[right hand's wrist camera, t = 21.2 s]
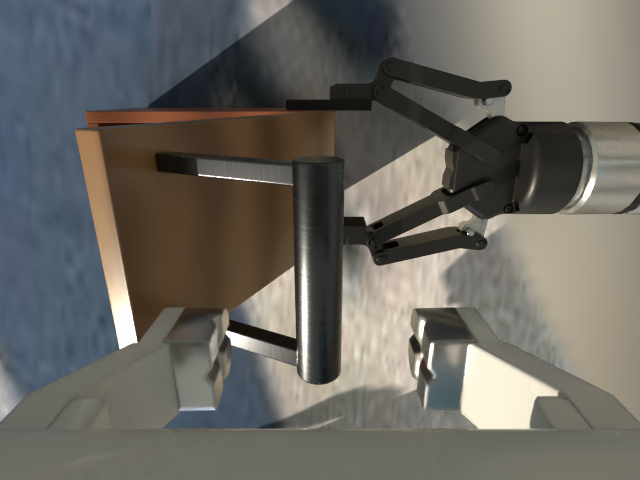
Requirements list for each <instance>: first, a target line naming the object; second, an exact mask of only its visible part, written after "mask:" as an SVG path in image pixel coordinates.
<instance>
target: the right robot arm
mask: <svg viewBox="0 0 640 480" xmlns="http://www.w3.org/2000/svg"><path fill="white" fill-rule="evenodd" d="M228 326H229V316H228V311H227V309H226V308H186V307H171V308H164V309H163V311H162V312H161V313H160V315H159V316H158V317H157V319H156V320H155V322H154V323H153V324H152V326H151V327H150V328H149V330H148V331H147V332H146V334H145V335H144V336H143V338H142V339H141V340H140V342H139V343H131V344H129V345H127V346H125V347H123V348H121V349H119V350H117V351H115V352H113V353H111V354H109V355H107V356H105V357H103V358H101V359H99V360H97V361H95V362H93V363H91V364H88V365H86V366H84V367H82V368H80V369H78V370H76V371H74V372H72V373H70V374H68V375H66V376H64V377H62V378H60V379H58V380H56V381H54V382H52V383H50V384H48V385H46V386H44V387H42V388H40V389H38V390H36V391H34V392H32V393H30V394H28V395H27V396H26V397H25V398H24V399H23V400H22V401H21V402H20V403H19V404H18V405H17V406H16V407H15V408H14V409H13V410H12V411H11V412H10V413H9V414H8V415H7V416H6V417H5V418H4V419H3V420H2V421H1V422H0V480H640V422H639V421H638V420H637V419H636V418H635V417H634V416H633V415H632V414H631V413H630V412H629V411H628V410H627V409H626V408H625V407H624V406H623V405H622V404H621V403H620V402H619V401H618V400H617V399H616V397H615V396H614V395H612V394H610V393H608V392H606V391H604V390H602V389H600V388H598V387H596V386H594V385H592V384H590V383H588V382H586V381H584V380H582V379H580V378H578V377H576V376H574V375H572V374H570V373H568V372H566V371H563V370H561V369H559V368H557V367H555V366H553V365H551V364H549V363H547V362H545V361H543V360H541V359H539V358H537V357H535V356H533V355H531V354H529V353H527V352H525V351H523V350H521V349H519V348H517V347H515V346H513V345H511V344H509V343H501V342H500V340H499V339H498V338H497V336H496V335H495V334H494V332H493V331H492V330H491V328H490V327H489V326H488V324H487V323H486V322H485V320H484V319H483V318H482V316H481V315H480V314H479V312H478V311H477V310H476V309H475V308H473V307H462V308H416V309H413V311H412V315H411V326H412V329H413V332H414V334H413V335H412V337H411V338H410V339H409V350H408V351H409V364H410V370H411V373H412V376H413V377H414V378H415V379H417V380H418V383H417V391H418V394H419V397H420V400H421V403H422V406H423V409H424V410H452V411H461V413H462V414H463V415H464V416H465V417H466V418H467V419H469V420H470V421H471V422H472V423H473V424H474V425H475V426H476V427H477V428H478V429H162V428H163V427H164V426H165V425H166V424H167V423H168V422H169V421H171V420H172V419H173V418H174V417H175V416H176V415H177V414H178V413H179V411H187V410H216V409H217V406H218V403H219V400H220V397H221V394H222V391H223V383H222V380H223V379H225V378H226V377H227V376H228V373H229V369H230V363H231V339H230V338H229V337H228V335H227V334H226V332H227V329H228Z"/></svg>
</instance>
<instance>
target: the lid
mask: <svg viewBox="0 0 640 480" xmlns="http://www.w3.org/2000/svg"><path fill="white" fill-rule="evenodd" d="M75 132H76V137H77V142H78V147H79V152H80V157H81V161H82V166H83V171H84V176H85V181H86V186H87V191H88V196H89V201H90V206H91V210H92V215H93V220H94V225H95V230H96V235H97V240H98V245H99V250H100V254H101V259H102V264H103V269H104V274H105V279H106V284H107V289H108V294H109V299H110V303H111V308H112V313H113V318H114V323H115V328H116V333H117V338H118V343H119V348H120V349H121V348H123V347H125V346H127V345H129V344H131V343H139V342H140V340H141V339H142V338H143V336H144V335H145V334H146V332H147V331H148V330H149V328H150V327H151V326H152V324H153V323H154V322H155V320H156V319H157V317H158V316H159V315H160V313H161V312H162V311H163V309H164V308H171V307H186V308H226V309H227V311H228V313H229V312H230V311H232V310H233V309H234V308H236V307H237V306H239V305H240V304H241V303H243V302H244V301H246V300H247V299H248V298H250V297H251V296H253V295H254V294H255V293H257V292H258V291H259V290H261V289H262V288H264V287H265V286H266V285H268V284H269V283H271V282H272V281H273V280H275V279H276V278H278V277H279V276H280V275H282V274H283V273H284V272H286V271H287V270H289V269H290V268H291V267H293V266H294V271H295V309H296V339H295V338H292V337H288V336H285V335H281V334H278V333H274V332H271V331H267V330H264V329H261V328H257V327H254V326H250V325H247V324H243V323H240V322H236V321H233V320H230V319H229V326H228V329H227V332H226V334H227V335H228V337H229V338H230V339H231V345H232V346H235V347H238V348H241V349H244V350H247V351H250V352H253V353H257V354H260V355H263V356H266V357H269V358H272V359H275V360H278V361H281V362H284V363H287V364H291V365H294V366H297V372H298V375H299V376H300V378H301V379H302V380H304V381H306V382H308V383H311V384H317V385H321V384H327V383H330V382H332V381H334V380H335V379H336V378H337V377H338V376H339V374H340V372H341V332H342V278H343V225H344V171H345V162H344V159H342V158H339V157H334V144H335V112H334V111H314V112H300V113H286V114H272V115H258V116H244V117H230V118H216V119H202V120H188V121H174V122H160V123H146V124H132V125H118V126H104V127H90V128H78V129H76V131H75Z"/></svg>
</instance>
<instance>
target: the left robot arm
mask: <svg viewBox="0 0 640 480" xmlns="http://www.w3.org/2000/svg"><path fill="white" fill-rule="evenodd" d="M393 79H395V80H399V81H403V82H406V83H410V84H413V85H417V86H421V87H424V88H428V89H432V90H435V91H439V92H443V93H446V94H450V95H454V96H457V97H461V98H469V99H474V105H475V106H476V107H477V108H479V109H483V110H485V111H486V113H487V117H486V118H484V119H483V120H481V121H480V122H478V123H477V124H475V125H474V126H472V127H471V128H469V129H468V130H467V131H465V130H463V129H461V128H459V127H457V126H455V125H453V124H451V123H450V122H448V121H446V120H444V119H443V118H441V117H439V116H438V115H436V114H434V113H432V112H431V111H429V110H427V109H426V108H424V107H422V106H420V105H419V104H417V103H415V102H413V101H412V100H410V99H408V98H407V97H405V96H403V95H401V94H400V93H398V92H396V91H395V90H393V89H391V88H390V87H391V84H392V82H393ZM511 88H512V86H511V83H510V82H509V81H508V80H497V81H486V82H478V81H475V80H471V79H468V78H464V77H460V76H457V75H453V74H450V73H446V72H443V71H439V70H435V69H432V68H428V67H425V66H421V65H417V64H414V63H410V62H407V61H403V60H399V59H396V58H388V59H386V60H384V61H383V62H382V63H381V64H380V66H379V70H378V72H377V75H376V77H375V79H374V81H373V82H371V83H370V84H336V85H333V86H331V87H330V100H286V110H357V111H371V107H372V101H377V102H378V103H380V104H382V105H384V106H385V107H387V108H389V109H391V110H392V111H394V112H396V113H398V114H399V115H401V116H403V117H405V118H406V119H408V120H410V121H411V122H413V123H415V124H417V125H418V126H420V127H422V128H424V129H425V130H427V131H429V132H431V133H432V134H434V135H436V136H437V137H439V138H441V139H442V140H444V141H446V142H448V143H449V144H450V145H449V147H448V148H446V150H445V162H446V169H445V171H444V174H443V179H442V185H443V186H444V187H442V188H440V189H438V190H436V191H434V192H432V194H431V195H429V196H427V197H425V198H423V199H421V200H419V201H417V202H415V203H413V204H411V205H409V206H407V207H405V208H403V209H401V210H399V211H397V212H394V213H392V214H390V215H388V216H386V217H384V218H382V219H380V220H378V221H376V222H374V223H372V224H370V225H368V226H366V223H365V220H364V217H344V225H343V244H362V245H366V246H367V247H368V248H369V250H370V253H371V255H372V258H373V261H374V263H375V264H376V265H379V266H380V265H386V264H390V263H395V262H399V261H404V260H408V259H413V258H417V257H422V256H426V255H431V254H435V253H440V252H444V251H449V250H453V249H458V248H464V249H473V250H482V249H484V248H485V247H486V246H487V239H485V238H484V233H485V229H486V225H487V221H488V219H490V218H493V217H495V216H497V215H500V214H554V213H557V212H559V213H560V214H640V123H632V122H570V123H568V124H567V123H565V122H514V121H512V120H510V119H508V118H507V117H505V116H504V104H505V96H507V95H508V94H509V93H510V91H511ZM463 207H465V208H466V209H467V210H468V211H470V212H471V213H472V214H473V217H472V218H471V219H470V220H468V221H463V222H461V223H460V224H459V226H458V227H446V228H441V229H437V230H432V231H428V232H424V233H419V234H415V235H410V236H406V237H402V238H397V239H393V240H390V239H392V238H394V237H396V236H398V235H400V234H403V233H405V232H407V231H409V230H411V229H413V228H415V227H417V226H419V225H421V224H424V223H426V222H428V221H430V220H432V219H434V218H436V217H438V216H440V215H443V214H449V213H452V212H454V211H456V210H458V209H460V208H463Z"/></svg>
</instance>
